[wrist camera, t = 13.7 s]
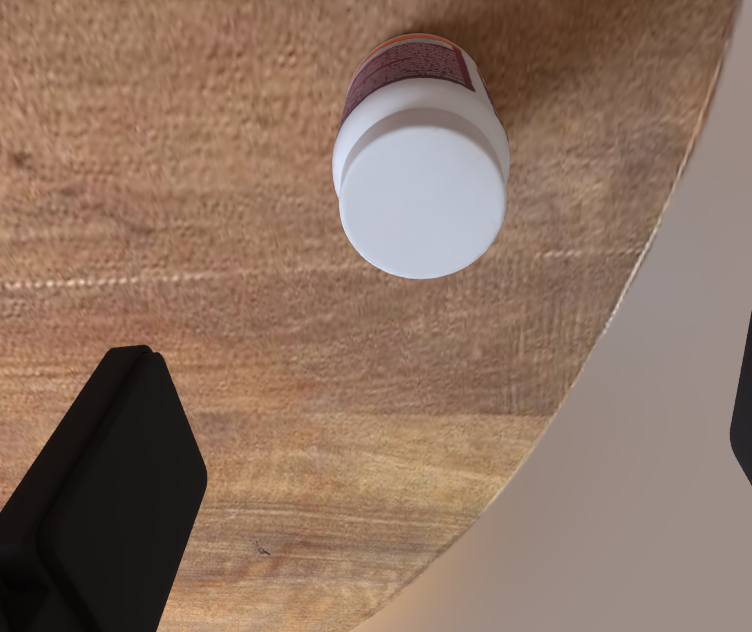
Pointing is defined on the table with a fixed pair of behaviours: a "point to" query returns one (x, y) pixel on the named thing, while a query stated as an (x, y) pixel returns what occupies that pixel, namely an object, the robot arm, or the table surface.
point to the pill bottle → (420, 159)
